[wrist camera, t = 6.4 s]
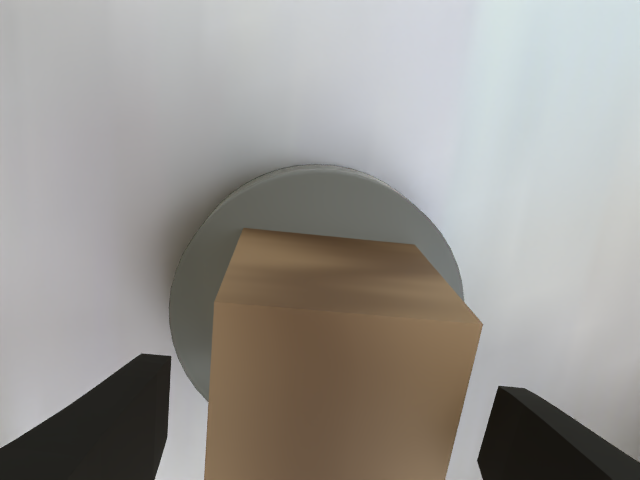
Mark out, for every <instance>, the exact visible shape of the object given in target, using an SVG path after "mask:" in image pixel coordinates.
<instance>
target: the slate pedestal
mask: <svg viewBox="0 0 640 480" xmlns="http://www.w3.org/2000/svg"><path fill="white" fill-rule="evenodd" d="M243 228H251V229H261V230H271V231H281V232H292V233H302V234H312V235H322V236H332V237H343V238H353V239H363V240H373V241H383V242H394V243H404V244H414V245H416V247H417V248H418V249H419V250H420V251H421V253H422V254H423V255H424V256H425V257H426V258H427V260H428V261H429V262H430V263H431V264H432V265H433V267H434V268H435V269H436V270H437V271H438V272H439V274H440V275H441V276H442V277H443V278H444V279H445V281H446V282H447V283H448V284H449V285H450V286H451V288H452V289H453V290H454V291H455V292H456V293H457V295H458V296H459V297H460V298H461V299H462V300H463V302H464V296H463V286H462V280H461V277H460V273H459V269H458V265H457V263H456V260H455V258H454V256H453V253H452V251H451V249H450V247H449V245H448V244H447V242H446V240H445V239H444V237H443V235H442V234H441V232H440V231H439V230H438V229H437V228H436V226H435V225H434V224H433V223H432V221H431V220H430V219H429V218H428V217H427V216H426V215H425V214H424V213H422V212H421V211H420V210H419V209H418V208H417V207H416V206H415V205H414V204H412V203H411V202H410V201H409V200H408V199H407V198H405V197H404V196H403V195H402V194H401V193H399V192H398V191H396V190H395V189H394V188H392V187H391V186H389V185H388V184H386V183H385V182H383V181H381V180H379V179H377V178H375V177H373V176H371V175H368V174H366V173H363V172H360V171H357V170H354V169H350V168H345V167H340V166H335V165H319V164H314V165H299V166H293V167H288V168H283V169H279V170H276V171H273V172H270V173H267V174H264V175H262V176H260V177H258V178H256V179H254V180H252V181H250V182H248V183H246V184H244V185H243V186H242V187H240V188H239V189H237V190H236V191H234V192H233V193H231V194H230V195H229V196H228V197H227V198H226V199H225V200H224V201H222V202H221V203H220V204H219V205H218V206H217V207H216V208H215V210H214V211H213V212H212V213H211V214H210V216H209V217H208V218H207V219H206V221H205V222H204V223H203V225H202V226H201V227H200V229H199V230H198V231H197V233H196V234H195V235H194V237H193V239H192V240H191V242H190V243H189V245H188V247H187V248H186V250H185V251H184V253H183V255H182V258H181V260H180V262H179V265H178V267H177V269H176V272H175V276H174V280H173V283H172V287H171V294H170V302H169V324H170V330H171V335H172V341H173V344H174V347H175V350H176V353H177V356H178V359H179V361H180V363H181V365H182V367H183V369H184V371H185V373H186V375H187V376H188V378H189V379H190V381H191V382H192V384H193V385H194V387H195V388H196V389H197V390H198V391H199V393H200V394H201V395H202V396H203V397H204V398H205V399H206V400H207V401H208V402H209V386H210V368H211V350H212V333H213V315H214V301H215V299H216V296H217V294H218V291H219V289H220V286H221V284H222V281H223V278H224V276H225V273H226V271H227V268H228V266H229V263H230V261H231V258H232V256H233V253H234V251H235V248H236V245H237V243H238V240H239V238H240V235H241V233H242V230H243Z"/></svg>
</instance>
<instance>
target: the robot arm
mask: <svg viewBox="0 0 640 480" xmlns="http://www.w3.org/2000/svg"><path fill="white" fill-rule="evenodd" d="M170 371H171V356H163V355H152V354H140V355H139V356H137V357H136V358H135V359H133V360H132V361H130V362H129V363H128V364H126V365H125V366H123V367H122V368H121V369H119V370H118V371H117V372H115V373H114V374H112V375H111V376H110V377H108V378H107V379H106V380H104V381H103V382H101V383H100V384H99V385H97V386H96V387H95V388H93V389H92V390H90V391H89V392H87V393H86V394H85V395H83V396H82V397H80V398H79V399H77V400H76V401H75V402H73V403H72V404H70V405H69V406H67V407H66V408H64V409H63V410H61V411H60V412H58V413H57V414H55V415H53V416H52V417H50V418H49V419H47V420H46V421H44V422H42V423H41V424H39V425H38V426H36V427H35V428H33V429H31V430H30V431H28V432H27V433H25V434H24V435H22V436H20V437H19V438H17V439H16V440H14V441H12V442H10V443H9V444H7V445H5V446H4V447H2V448H0V480H154V479H155V476H156V473H157V470H158V467H159V463H160V460H161V457H162V453H163V450H164V447H165V443H166V440H167V431H168V411H169V391H170ZM477 462H478V465H479V468H480V471H481V475H482V478H483V480H640V463H639V462H638V461H636V460H634V459H633V458H631V457H630V456H628V455H627V454H625V453H624V452H622V451H621V450H619V449H618V448H616V447H615V446H613V445H612V444H610V443H609V442H607V441H606V440H604V439H603V438H601V437H600V436H598V435H597V434H595V433H594V432H592V431H591V430H589V429H588V428H586V427H585V426H583V425H582V424H580V423H579V422H577V421H576V420H575V419H573V418H572V417H570V416H569V415H567V414H566V413H564V412H563V411H561V410H560V409H558V408H557V407H555V406H553V405H552V404H550V403H549V402H547V401H546V400H544V399H542V398H541V397H539V396H538V395H536V394H534V393H532V392H530V391H529V390H527V389H525V388H516V387H505V386H498V389H497V393H496V396H495V400H494V403H493V407H492V410H491V414H490V417H489V421H488V424H487V428H486V431H485V435H484V438H483V442H482V445H481V449H480V452H479V456H478V459H477Z"/></svg>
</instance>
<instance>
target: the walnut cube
mask: <svg viewBox="0 0 640 480" xmlns="http://www.w3.org/2000/svg"><path fill="white" fill-rule="evenodd" d="M482 326H483V324H482V323H481V321H480V320H479V319H478V318H477V317H476V316H475V314H474V313H473V312H472V311H471V310H470V309H469V307H468V306H467V305H466V304H465V303H464V302H463V300H462V299H461V298H460V297H459V296H458V295H457V293H456V292H455V291H454V290H453V289H452V288H451V286H450V285H449V284H448V283H447V282H446V281H445V279H444V278H443V277H442V276H441V275H440V274H439V272H438V271H437V270H436V269H435V268H434V267H433V265H432V264H431V263H430V262H429V261H428V260H427V258H426V257H425V256H424V255H423V254H422V253H421V251H420V250H419V249H418V248H417V247H416V245H414V244H404V243H394V242H383V241H373V240H363V239H353V238H343V237H332V236H322V235H312V234H302V233H292V232H281V231H271V230H261V229H251V228H243V230H242V233H241V235H240V238H239V240H238V243H237V245H236V248H235V251H234V253H233V256H232V258H231V261H230V263H229V266H228V268H227V271H226V273H225V276H224V278H223V281H222V284H221V286H220V289H219V291H218V294H217V296H216V299H215V301H214V315H213V333H212V350H211V368H210V386H209V403H208V421H207V439H206V457H205V474H204V480H445V477H446V473H447V469H448V465H449V461H450V457H451V453H452V449H453V445H454V441H455V437H456V432H457V428H458V424H459V420H460V416H461V412H462V408H463V404H464V400H465V396H466V392H467V387H468V383H469V379H470V375H471V371H472V367H473V363H474V359H475V355H476V351H477V347H478V343H479V338H480V334H481V330H482Z"/></svg>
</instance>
